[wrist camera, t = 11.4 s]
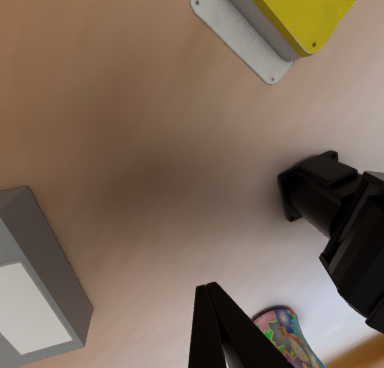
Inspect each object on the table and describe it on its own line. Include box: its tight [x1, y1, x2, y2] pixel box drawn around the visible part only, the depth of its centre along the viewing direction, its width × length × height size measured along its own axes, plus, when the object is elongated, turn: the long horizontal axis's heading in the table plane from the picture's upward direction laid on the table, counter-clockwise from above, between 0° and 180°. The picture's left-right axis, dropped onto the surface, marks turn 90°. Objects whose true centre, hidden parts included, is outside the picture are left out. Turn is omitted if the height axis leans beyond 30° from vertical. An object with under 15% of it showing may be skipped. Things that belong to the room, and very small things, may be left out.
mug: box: [254, 309, 326, 368], centre depth 28 cm, size 12×9×11 cm
